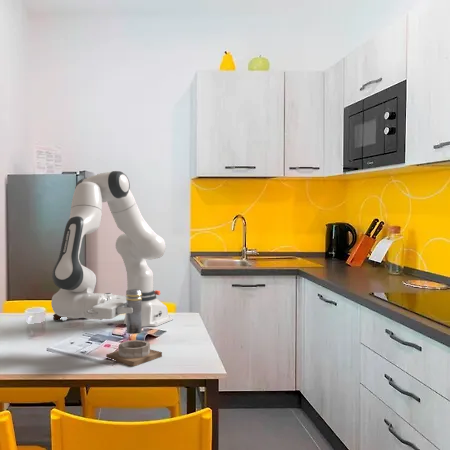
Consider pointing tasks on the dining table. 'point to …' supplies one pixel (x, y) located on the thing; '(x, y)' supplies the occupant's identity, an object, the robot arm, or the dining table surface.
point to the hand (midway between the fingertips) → (136, 308)
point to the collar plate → (133, 360)
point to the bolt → (57, 317)
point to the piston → (136, 317)
